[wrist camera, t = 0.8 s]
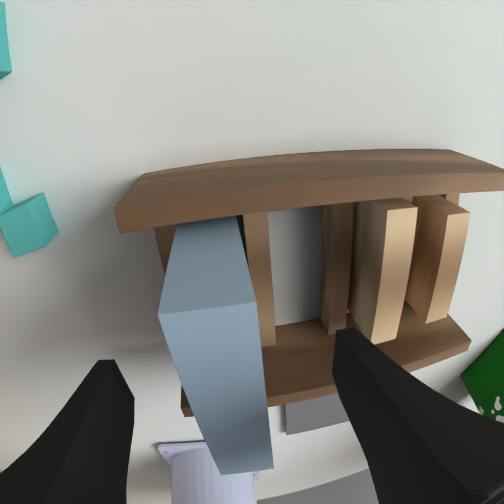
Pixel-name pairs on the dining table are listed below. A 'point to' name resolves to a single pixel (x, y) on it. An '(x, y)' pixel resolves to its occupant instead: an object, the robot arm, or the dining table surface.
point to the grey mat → (314, 414)
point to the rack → (333, 243)
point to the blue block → (218, 342)
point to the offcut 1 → (380, 265)
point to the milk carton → (488, 380)
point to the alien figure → (31, 210)
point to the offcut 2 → (435, 256)
